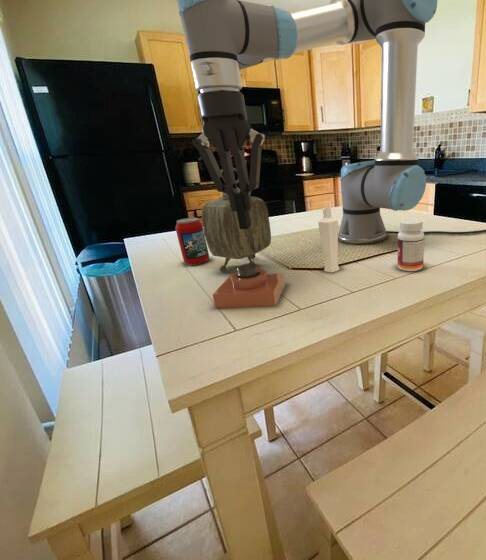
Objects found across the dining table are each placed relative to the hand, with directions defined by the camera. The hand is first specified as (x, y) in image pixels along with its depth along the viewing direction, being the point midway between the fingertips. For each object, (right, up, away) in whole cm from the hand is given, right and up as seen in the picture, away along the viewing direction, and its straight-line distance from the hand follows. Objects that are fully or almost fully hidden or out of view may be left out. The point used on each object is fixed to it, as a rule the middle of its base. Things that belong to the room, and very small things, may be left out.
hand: (245, 227), depth 67 cm
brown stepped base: (0, -14, +4) cm, 15 cm away
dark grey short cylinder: (0, -10, +2) cm, 10 cm away
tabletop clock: (-6, -7, +22) cm, 24 cm away
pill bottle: (+36, -8, +15) cm, 39 cm away
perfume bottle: (+17, -8, +16) cm, 25 cm away
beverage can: (-22, -6, +28) cm, 36 cm away
